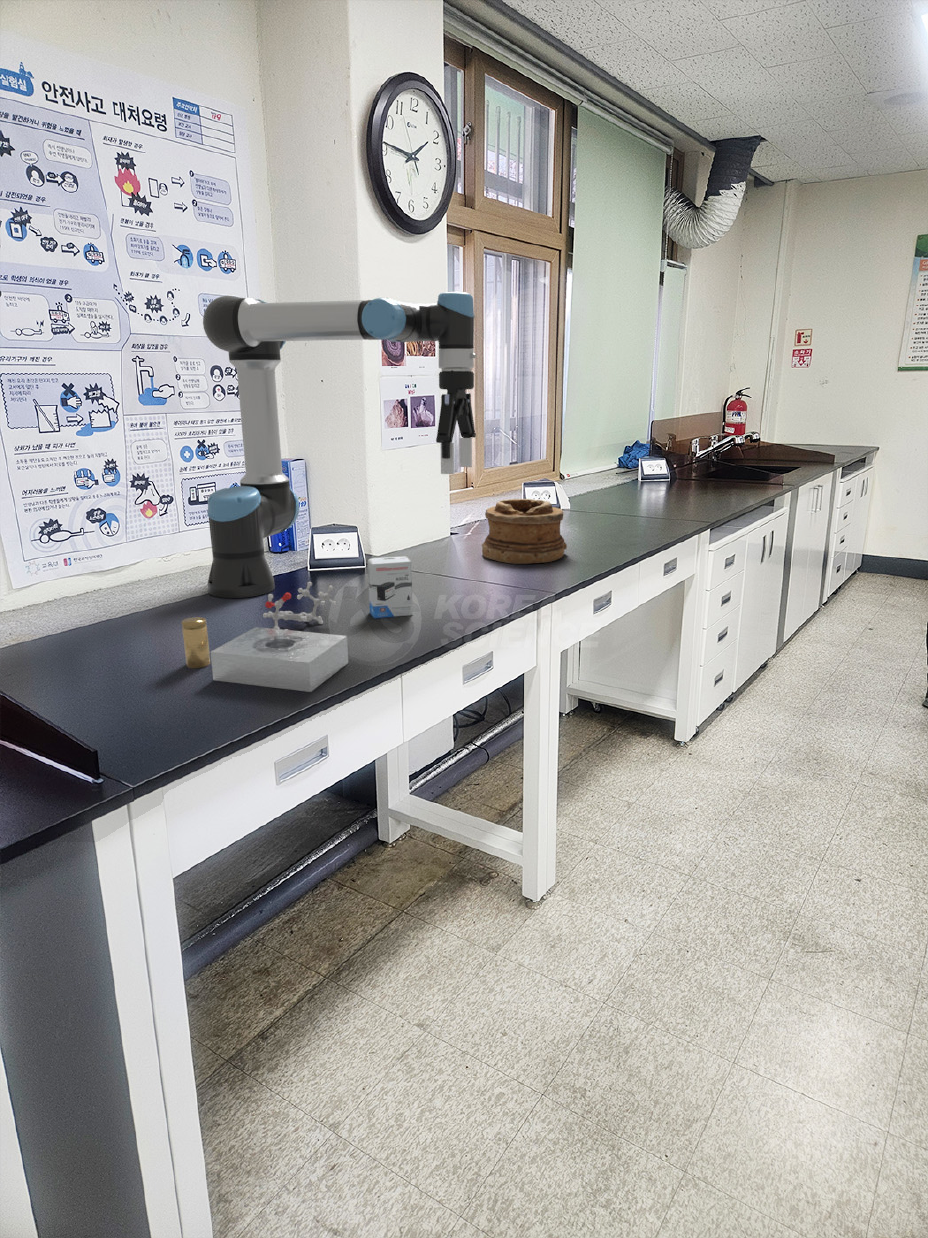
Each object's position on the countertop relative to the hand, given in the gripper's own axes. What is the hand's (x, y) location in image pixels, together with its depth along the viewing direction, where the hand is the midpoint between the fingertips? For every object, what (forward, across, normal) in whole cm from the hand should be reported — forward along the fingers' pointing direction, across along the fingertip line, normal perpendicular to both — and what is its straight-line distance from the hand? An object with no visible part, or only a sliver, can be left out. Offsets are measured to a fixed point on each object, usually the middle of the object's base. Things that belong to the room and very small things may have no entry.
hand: (456, 470), depth 178 cm
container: (+28, +42, -6) cm, 51 cm away
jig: (+28, -58, +13) cm, 66 cm away
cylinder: (+28, -59, +29) cm, 71 cm away
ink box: (+28, -21, +8) cm, 36 cm away
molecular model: (+28, -37, +22) cm, 52 cm away
